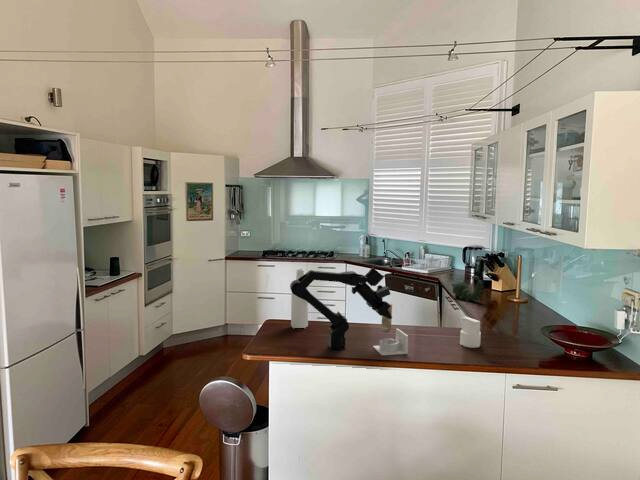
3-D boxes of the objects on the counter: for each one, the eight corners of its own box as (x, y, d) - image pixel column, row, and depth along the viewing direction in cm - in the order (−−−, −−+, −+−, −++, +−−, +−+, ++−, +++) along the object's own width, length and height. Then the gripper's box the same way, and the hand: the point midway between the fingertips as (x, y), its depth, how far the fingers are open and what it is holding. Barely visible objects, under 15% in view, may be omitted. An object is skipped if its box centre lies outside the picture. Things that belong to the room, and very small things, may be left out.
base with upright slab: (455, 342, 213) (457, 317, 212) (470, 340, 217) (472, 316, 216) (469, 348, 205) (470, 322, 204) (484, 346, 209) (485, 320, 207)
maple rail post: (383, 332, 203) (384, 305, 202) (379, 330, 207) (380, 303, 206) (392, 332, 204) (393, 305, 203) (388, 329, 208) (389, 303, 207)
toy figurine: (484, 305, 298) (454, 294, 319) (487, 277, 295) (457, 268, 315) (474, 306, 293) (445, 295, 314) (478, 278, 290) (448, 269, 310)
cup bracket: (382, 355, 193) (382, 337, 193) (373, 347, 204) (373, 329, 203) (407, 353, 196) (408, 335, 196) (397, 345, 207) (397, 328, 206)
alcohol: (311, 327, 232) (312, 270, 230) (295, 330, 228) (296, 271, 225) (302, 323, 240) (303, 267, 237) (288, 325, 236) (288, 268, 233)
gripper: (386, 284, 194) (409, 309, 197) (373, 277, 212) (394, 299, 215) (368, 303, 193) (392, 327, 196) (356, 293, 211) (378, 316, 214)
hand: (389, 316), depth 205 cm, fingers closed on maple rail post, 4 cm apart
